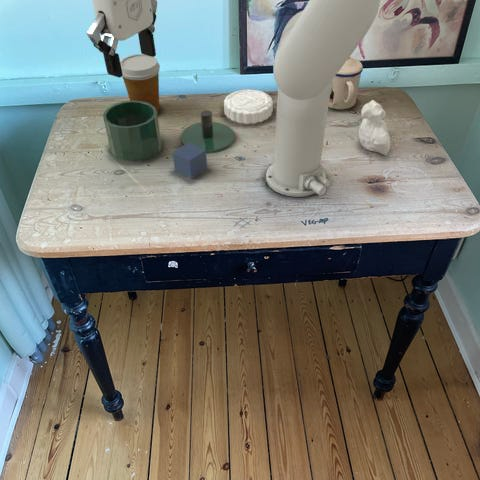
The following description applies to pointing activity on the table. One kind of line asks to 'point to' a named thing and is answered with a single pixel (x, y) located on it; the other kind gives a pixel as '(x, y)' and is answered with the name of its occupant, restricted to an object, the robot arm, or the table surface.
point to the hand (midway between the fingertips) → (132, 64)
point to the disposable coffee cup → (141, 78)
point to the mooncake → (248, 106)
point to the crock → (133, 130)
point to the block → (190, 160)
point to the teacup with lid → (345, 85)
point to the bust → (374, 129)
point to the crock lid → (208, 134)
